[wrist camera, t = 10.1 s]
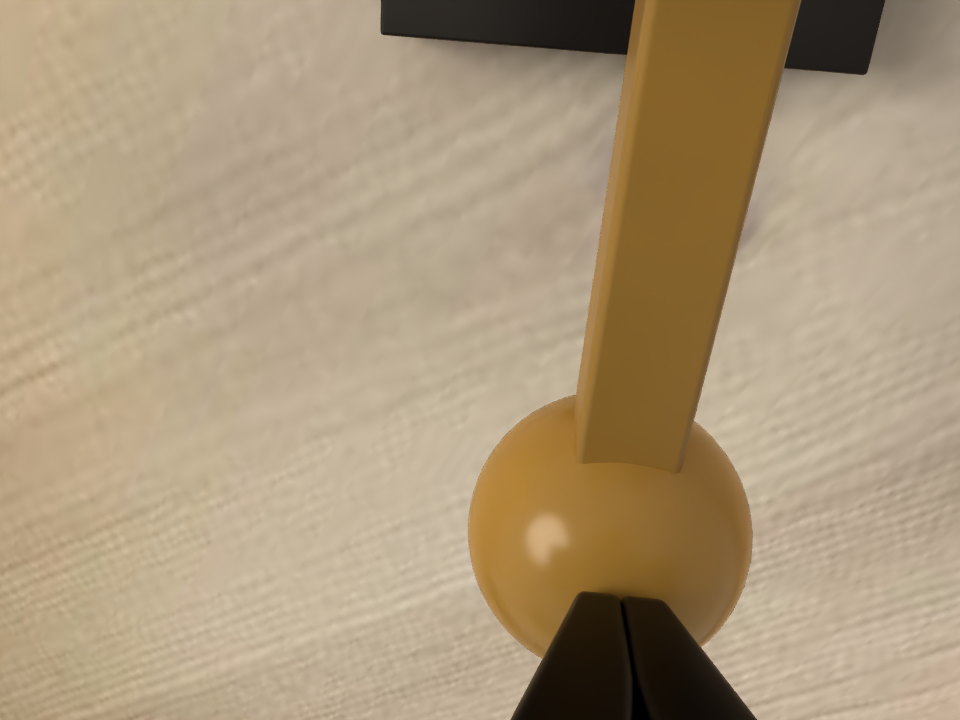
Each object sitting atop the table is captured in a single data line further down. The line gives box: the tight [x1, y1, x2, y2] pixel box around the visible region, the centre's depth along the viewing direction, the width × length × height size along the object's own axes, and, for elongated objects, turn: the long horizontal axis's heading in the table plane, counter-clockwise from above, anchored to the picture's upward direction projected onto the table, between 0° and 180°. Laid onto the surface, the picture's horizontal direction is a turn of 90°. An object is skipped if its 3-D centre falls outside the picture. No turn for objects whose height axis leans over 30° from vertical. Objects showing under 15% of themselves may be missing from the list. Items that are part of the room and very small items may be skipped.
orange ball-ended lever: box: [468, 0, 801, 659], centre depth 8 cm, size 12×3×3 cm, turn 176°
